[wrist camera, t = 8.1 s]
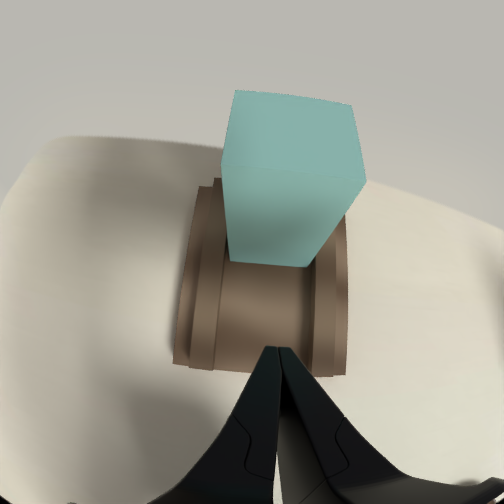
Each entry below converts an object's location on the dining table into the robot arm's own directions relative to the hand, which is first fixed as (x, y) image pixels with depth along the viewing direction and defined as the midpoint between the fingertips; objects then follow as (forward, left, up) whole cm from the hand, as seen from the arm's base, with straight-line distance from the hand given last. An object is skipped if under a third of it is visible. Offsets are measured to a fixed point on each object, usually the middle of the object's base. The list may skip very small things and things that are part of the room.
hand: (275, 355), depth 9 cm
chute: (+3, -5, -13) cm, 14 cm away
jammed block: (+5, -8, -11) cm, 15 cm away
